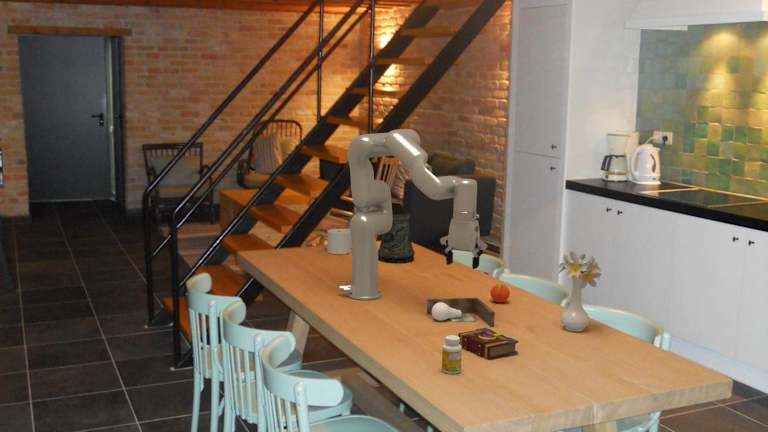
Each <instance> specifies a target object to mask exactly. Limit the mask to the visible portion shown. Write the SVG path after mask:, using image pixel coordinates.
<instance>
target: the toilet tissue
mask: <svg viewBox="0 0 768 432" xmlns="http://www.w3.org/2000/svg"><path fill="white" fill-rule="evenodd" d="M326 232H327V234H326V235H327V239H326V241H327V245H326V246H327V247H326V248H327V250H326V251H327V253H328V254H333V255H346V254H347V253H348V254H351V250H352V236H351V231H350V228H332V229H327V231H326Z"/></svg>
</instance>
